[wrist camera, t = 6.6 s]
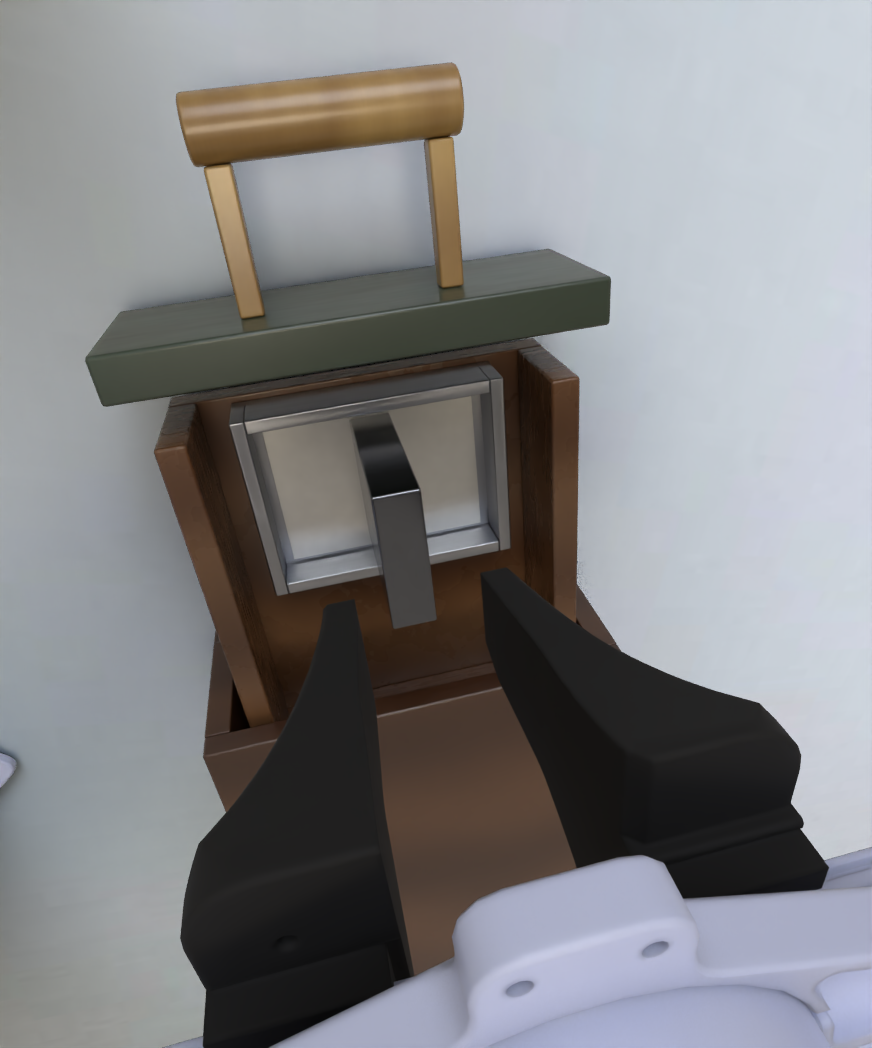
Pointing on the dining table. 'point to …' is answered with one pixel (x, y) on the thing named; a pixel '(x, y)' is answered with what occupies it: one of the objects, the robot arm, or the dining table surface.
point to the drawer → (353, 381)
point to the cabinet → (431, 792)
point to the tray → (378, 481)
